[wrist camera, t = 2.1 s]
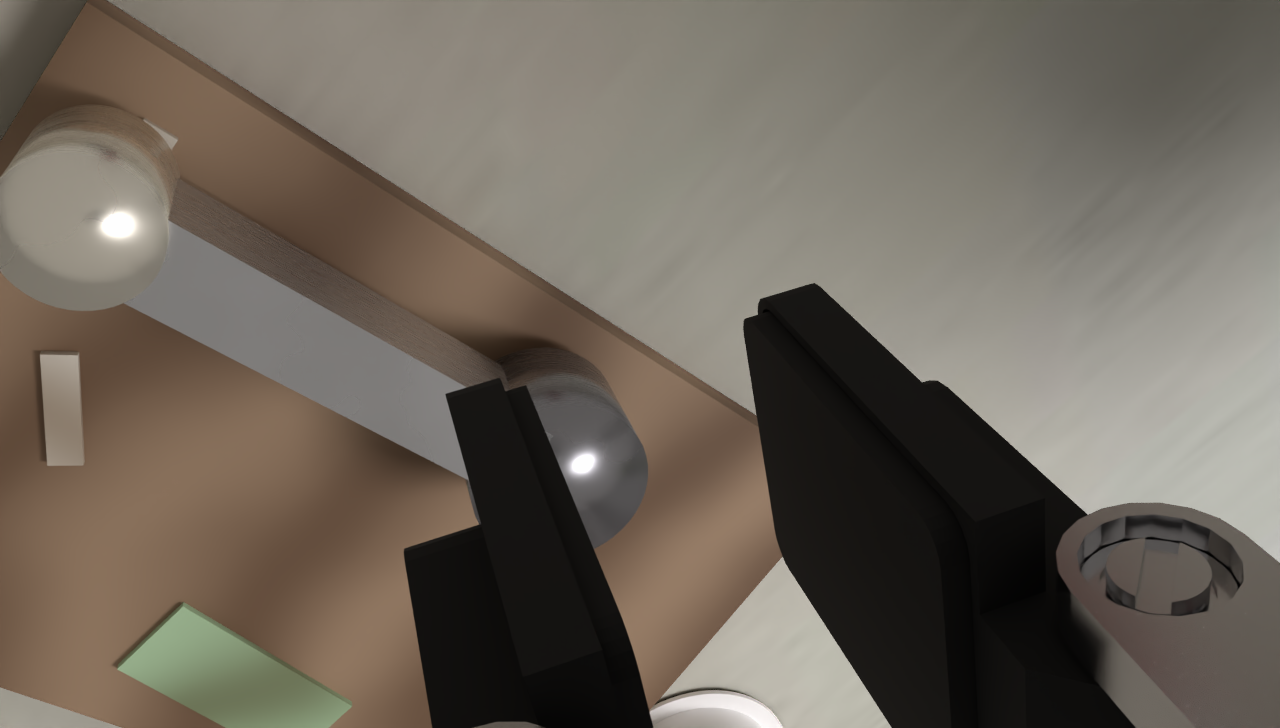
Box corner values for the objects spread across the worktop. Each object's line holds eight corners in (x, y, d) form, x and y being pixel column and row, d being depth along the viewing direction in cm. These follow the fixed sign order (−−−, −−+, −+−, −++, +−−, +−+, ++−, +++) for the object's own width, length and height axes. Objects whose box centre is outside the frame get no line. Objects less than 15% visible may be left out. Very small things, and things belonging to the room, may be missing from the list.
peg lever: (646, 396, 31) (688, 464, 28) (551, 516, 32) (580, 594, 29) (81, 50, 24) (52, 91, 21) (-24, 219, 25) (-66, 282, 22)
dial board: (829, 462, 37) (848, 486, 35) (514, 831, 40) (522, 864, 39) (94, -8, 25) (85, 3, 24) (-260, 565, 29) (-283, 600, 27)
